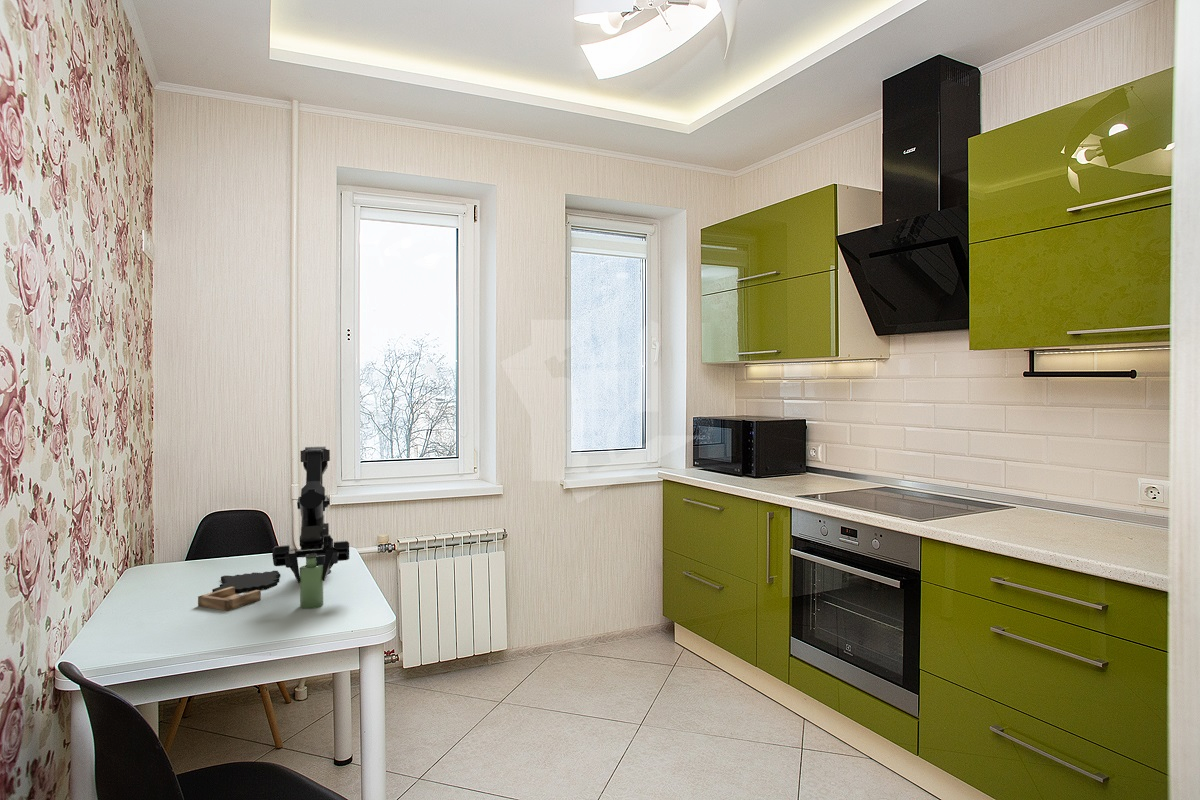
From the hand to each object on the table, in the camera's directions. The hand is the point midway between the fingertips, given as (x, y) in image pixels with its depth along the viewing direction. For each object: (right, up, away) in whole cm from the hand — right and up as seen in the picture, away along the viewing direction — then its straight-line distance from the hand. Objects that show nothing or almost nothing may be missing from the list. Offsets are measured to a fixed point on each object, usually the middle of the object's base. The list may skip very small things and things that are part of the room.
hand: (311, 581), depth 179 cm
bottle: (0, -7, +1) cm, 7 cm away
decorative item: (-29, -7, +23) cm, 37 cm away
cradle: (-23, -7, +4) cm, 25 cm away
